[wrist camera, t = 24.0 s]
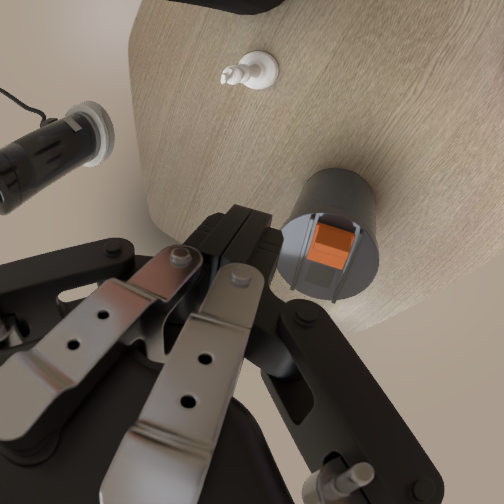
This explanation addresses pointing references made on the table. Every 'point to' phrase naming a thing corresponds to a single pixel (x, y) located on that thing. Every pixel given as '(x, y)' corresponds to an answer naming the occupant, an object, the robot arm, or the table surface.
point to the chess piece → (252, 71)
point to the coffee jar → (236, 5)
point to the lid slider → (330, 245)
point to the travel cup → (336, 215)
